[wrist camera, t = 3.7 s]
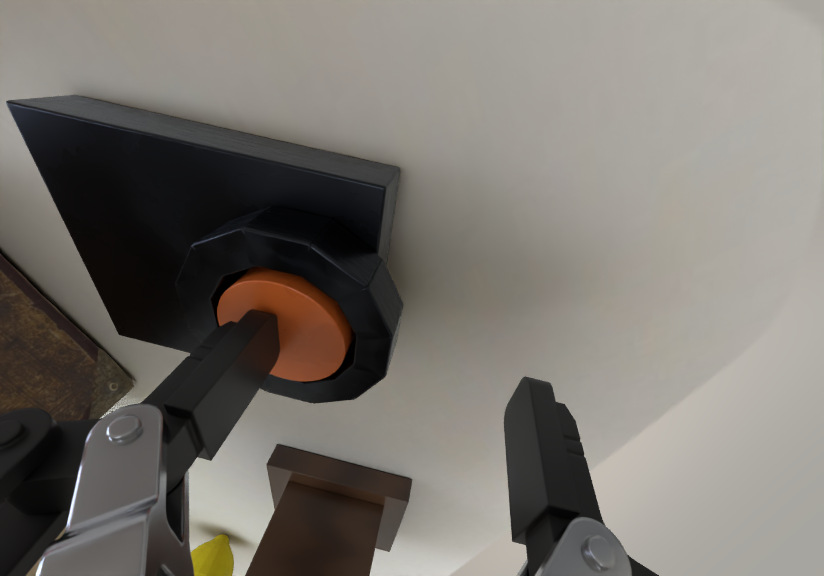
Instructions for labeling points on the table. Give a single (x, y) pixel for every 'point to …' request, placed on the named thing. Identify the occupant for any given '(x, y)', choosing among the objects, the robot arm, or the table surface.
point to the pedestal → (327, 516)
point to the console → (217, 225)
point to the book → (50, 358)
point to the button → (292, 321)
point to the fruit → (213, 558)
